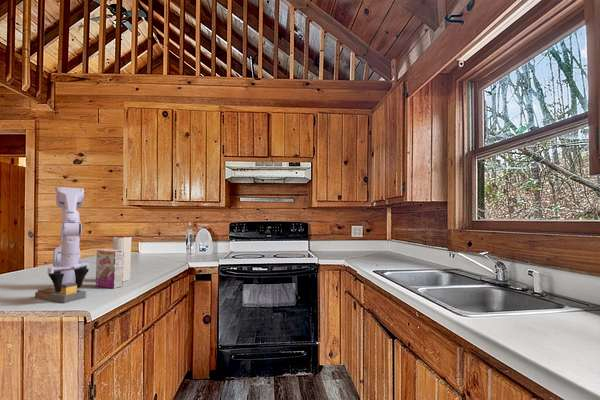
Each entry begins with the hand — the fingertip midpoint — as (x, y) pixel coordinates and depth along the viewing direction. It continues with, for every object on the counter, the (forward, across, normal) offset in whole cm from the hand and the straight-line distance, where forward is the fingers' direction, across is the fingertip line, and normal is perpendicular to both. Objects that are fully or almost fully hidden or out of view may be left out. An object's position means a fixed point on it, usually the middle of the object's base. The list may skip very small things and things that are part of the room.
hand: (68, 289), depth 124 cm
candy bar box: (+4, +21, +4) cm, 22 cm away
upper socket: (+4, +1, +9) cm, 10 cm away
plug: (+3, 0, 0) cm, 3 cm away
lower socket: (+4, 0, 0) cm, 4 cm away
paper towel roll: (+4, +31, +10) cm, 33 cm away
